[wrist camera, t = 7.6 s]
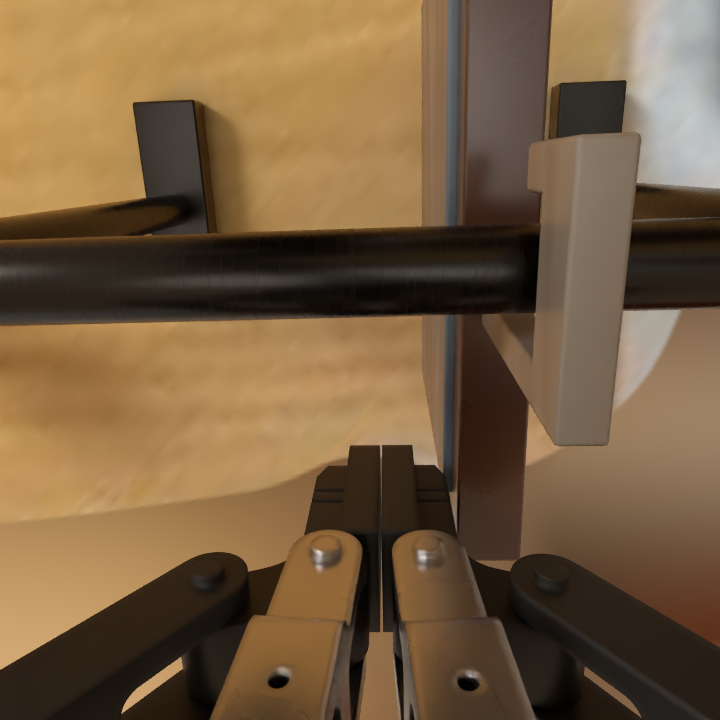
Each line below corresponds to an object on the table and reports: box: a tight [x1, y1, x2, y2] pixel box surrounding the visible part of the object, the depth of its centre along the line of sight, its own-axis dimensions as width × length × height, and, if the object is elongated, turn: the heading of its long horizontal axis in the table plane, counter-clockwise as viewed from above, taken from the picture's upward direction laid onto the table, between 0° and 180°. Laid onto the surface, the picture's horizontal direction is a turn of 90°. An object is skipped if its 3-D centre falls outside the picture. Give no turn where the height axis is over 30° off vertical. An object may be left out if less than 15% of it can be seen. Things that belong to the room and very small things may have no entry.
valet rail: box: [0, 80, 720, 326], centre depth 15 cm, size 18×8×19 cm, turn 92°
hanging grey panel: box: [421, 0, 641, 560], centre depth 13 cm, size 2×14×15 cm, turn 2°
